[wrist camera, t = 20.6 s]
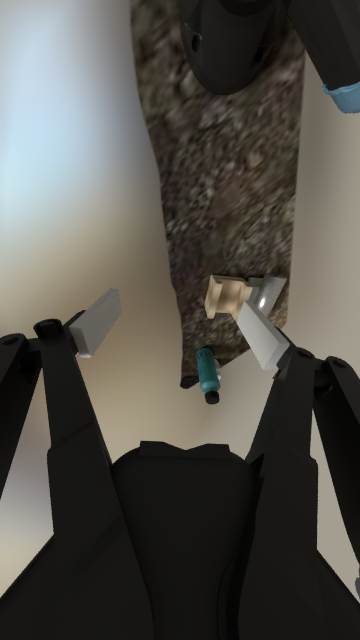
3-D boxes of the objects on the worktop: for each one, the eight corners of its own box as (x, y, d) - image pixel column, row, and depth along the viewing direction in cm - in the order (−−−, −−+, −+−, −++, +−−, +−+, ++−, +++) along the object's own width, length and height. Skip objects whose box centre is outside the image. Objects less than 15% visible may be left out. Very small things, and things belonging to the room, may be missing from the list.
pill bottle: (209, 366, 64) (213, 382, 58) (205, 360, 62) (208, 376, 56) (219, 363, 63) (223, 379, 56) (215, 357, 61) (219, 373, 54)
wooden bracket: (211, 274, 42) (216, 283, 36) (242, 278, 43) (253, 287, 37) (204, 305, 48) (208, 318, 42) (232, 308, 48) (240, 320, 42)
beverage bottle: (211, 343, 57) (224, 393, 40) (212, 355, 60) (225, 406, 44) (194, 346, 58) (200, 396, 41) (196, 357, 61) (202, 408, 44)
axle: (261, 272, 39) (271, 278, 34) (279, 274, 39) (291, 280, 35) (243, 317, 46) (249, 327, 42) (258, 319, 47) (266, 328, 42)
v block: (249, 276, 43) (254, 281, 39) (273, 279, 43) (280, 284, 40) (239, 304, 48) (243, 310, 44) (260, 306, 48) (266, 313, 45)
